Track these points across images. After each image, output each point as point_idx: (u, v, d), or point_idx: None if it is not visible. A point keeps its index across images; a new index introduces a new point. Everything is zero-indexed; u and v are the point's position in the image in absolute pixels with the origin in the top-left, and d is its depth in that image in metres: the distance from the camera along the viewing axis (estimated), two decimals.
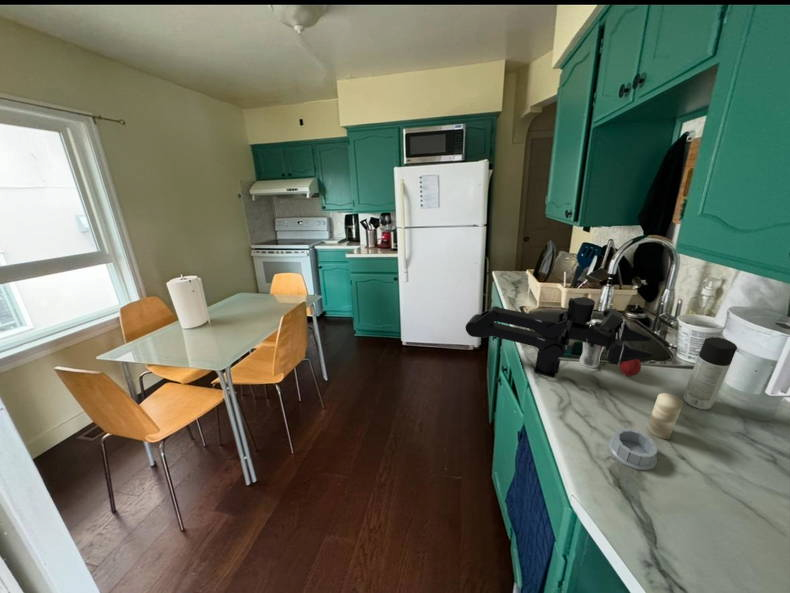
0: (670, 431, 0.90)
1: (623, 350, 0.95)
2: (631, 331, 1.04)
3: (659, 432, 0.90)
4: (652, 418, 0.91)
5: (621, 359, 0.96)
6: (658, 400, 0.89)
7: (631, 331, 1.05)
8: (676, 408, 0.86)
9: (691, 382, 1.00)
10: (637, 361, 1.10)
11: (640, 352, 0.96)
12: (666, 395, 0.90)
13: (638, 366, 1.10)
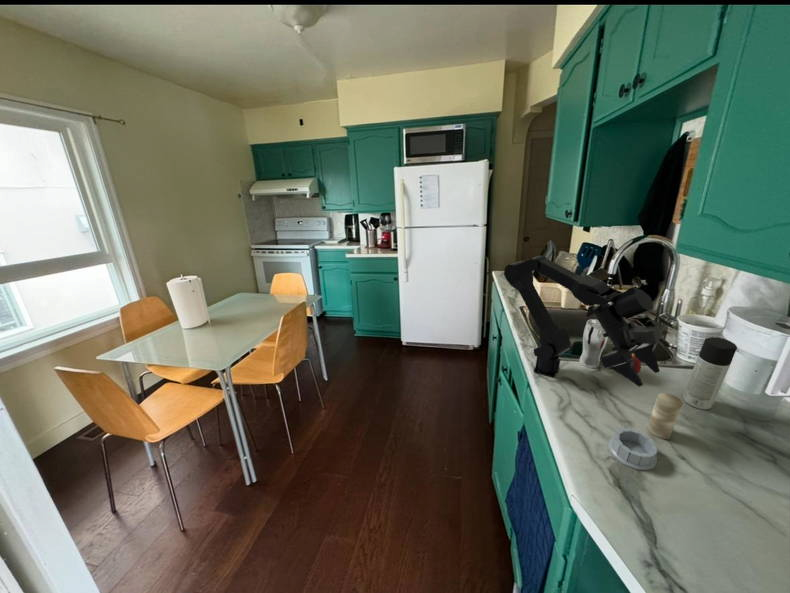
0: (670, 431, 0.90)
1: (623, 364, 0.88)
2: (650, 353, 0.94)
3: (659, 432, 0.90)
4: (652, 418, 0.91)
5: (613, 367, 0.90)
6: (658, 400, 0.89)
7: (650, 353, 0.94)
8: (676, 408, 0.86)
9: (691, 382, 1.00)
10: (637, 361, 1.10)
11: (634, 376, 0.89)
12: (666, 395, 0.90)
13: (638, 366, 1.10)
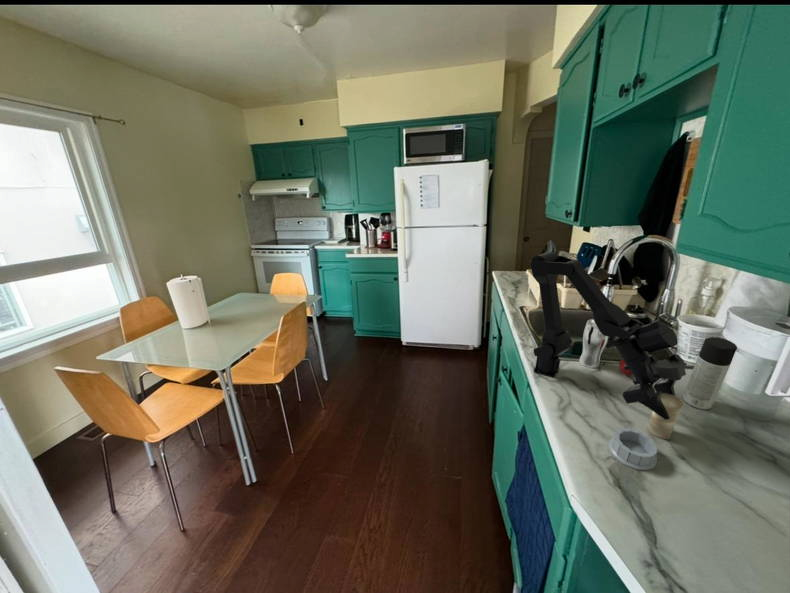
0: (670, 431, 0.90)
1: None
2: (669, 390, 0.91)
3: (659, 432, 0.90)
4: (652, 418, 0.91)
5: None
6: None
7: (669, 390, 0.91)
8: (676, 408, 0.86)
9: (691, 382, 1.00)
10: None
11: (661, 409, 0.87)
12: (667, 395, 0.90)
13: None
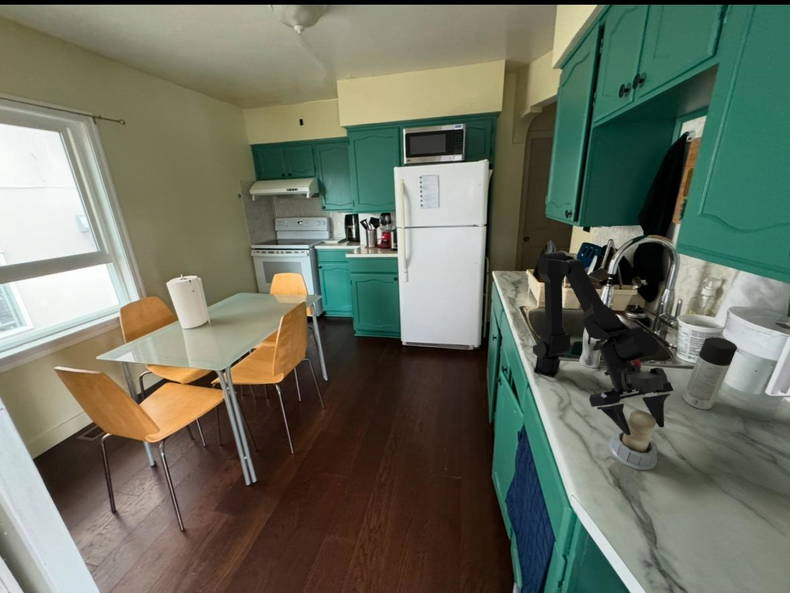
0: (640, 452, 0.83)
1: (608, 406, 0.82)
2: (657, 405, 0.84)
3: None
4: None
5: (600, 408, 0.84)
6: (630, 415, 0.84)
7: (657, 405, 0.84)
8: (644, 426, 0.80)
9: (691, 382, 1.00)
10: (637, 361, 1.10)
11: (621, 423, 0.81)
12: (643, 413, 0.84)
13: None
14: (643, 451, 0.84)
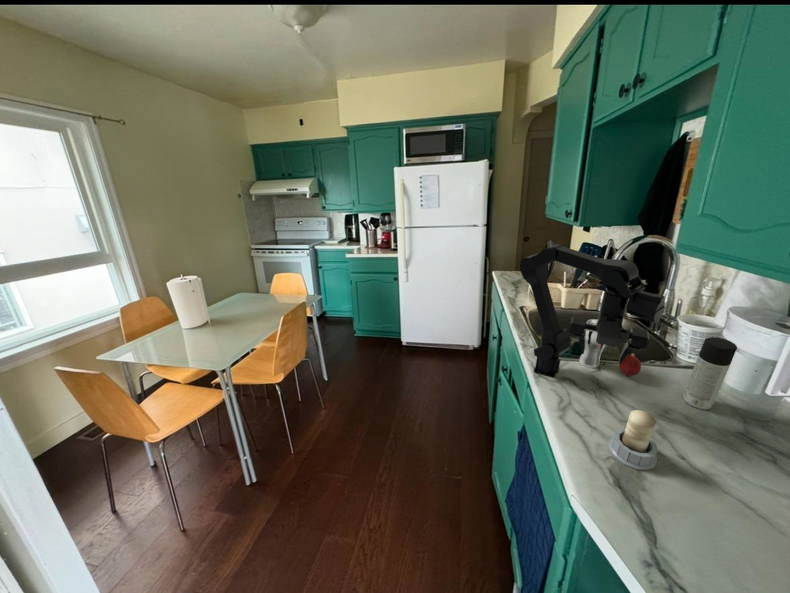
0: (640, 452, 0.84)
1: None
2: (625, 349, 0.96)
3: None
4: None
5: None
6: None
7: (625, 349, 0.96)
8: (644, 426, 0.81)
9: (691, 382, 1.00)
10: (637, 361, 1.10)
11: None
12: (643, 413, 0.84)
13: (638, 366, 1.10)
14: (643, 451, 0.84)
